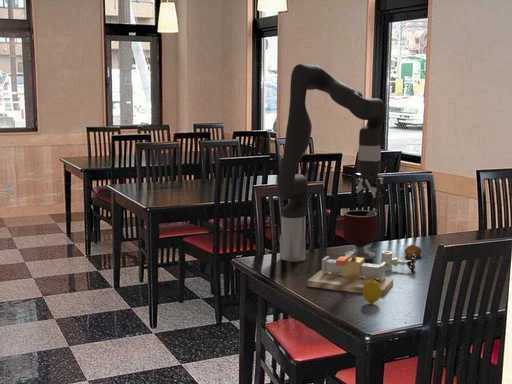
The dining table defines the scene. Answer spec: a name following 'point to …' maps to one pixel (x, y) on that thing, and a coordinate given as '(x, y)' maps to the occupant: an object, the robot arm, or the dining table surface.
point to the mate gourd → (360, 230)
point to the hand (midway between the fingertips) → (368, 206)
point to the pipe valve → (354, 269)
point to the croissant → (412, 251)
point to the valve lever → (346, 257)
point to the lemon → (371, 291)
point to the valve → (397, 261)
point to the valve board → (345, 283)
